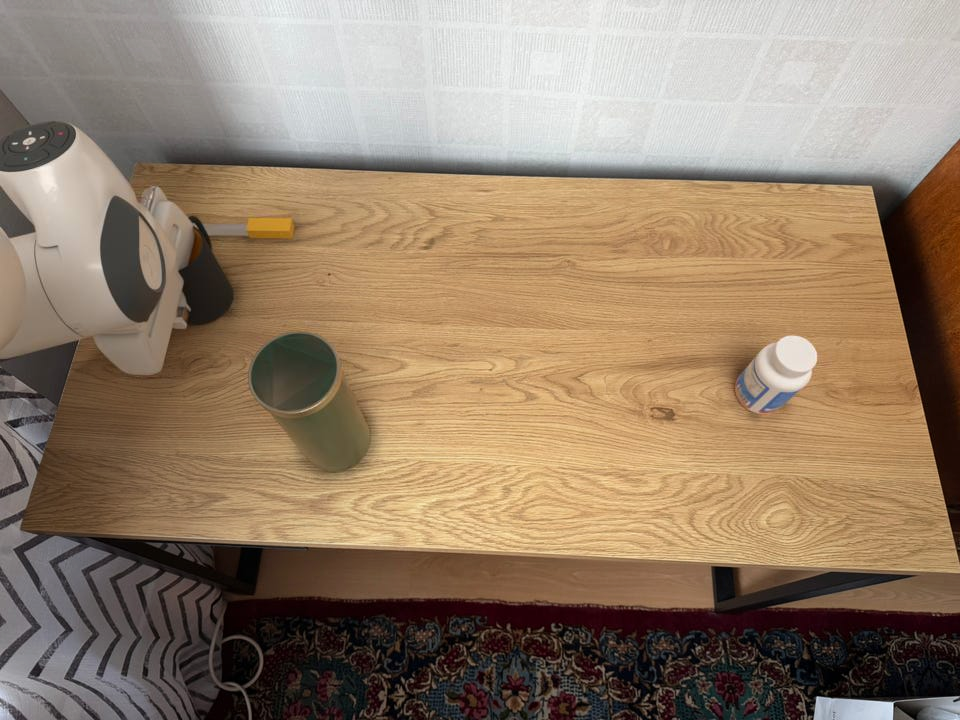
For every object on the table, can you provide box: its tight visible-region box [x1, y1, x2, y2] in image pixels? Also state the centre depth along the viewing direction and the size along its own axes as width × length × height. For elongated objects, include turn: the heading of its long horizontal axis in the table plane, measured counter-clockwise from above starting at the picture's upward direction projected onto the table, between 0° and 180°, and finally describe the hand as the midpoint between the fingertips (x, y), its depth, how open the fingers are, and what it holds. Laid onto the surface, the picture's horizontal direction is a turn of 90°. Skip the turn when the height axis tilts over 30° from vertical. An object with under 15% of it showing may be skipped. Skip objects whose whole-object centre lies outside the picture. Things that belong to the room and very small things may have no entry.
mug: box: [178, 215, 234, 326], centre depth 80 cm, size 8×12×10 cm
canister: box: [247, 330, 372, 473], centre depth 67 cm, size 8×8×20 cm
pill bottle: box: [734, 335, 818, 415], centre depth 74 cm, size 6×6×11 cm
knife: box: [192, 217, 296, 240], centre depth 88 cm, size 18×2×2 cm, turn 89°
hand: (182, 319), depth 78 cm, fingers closed
